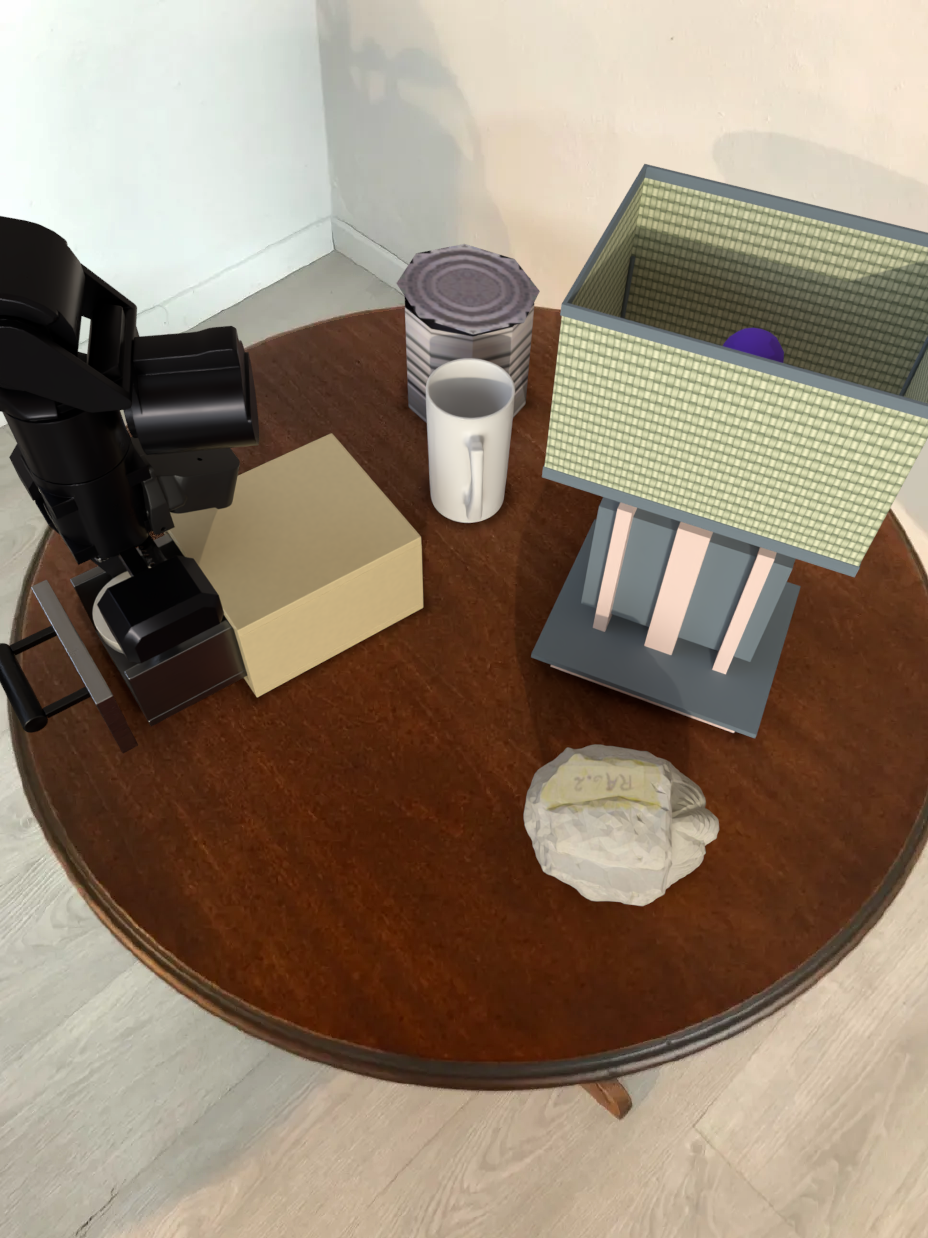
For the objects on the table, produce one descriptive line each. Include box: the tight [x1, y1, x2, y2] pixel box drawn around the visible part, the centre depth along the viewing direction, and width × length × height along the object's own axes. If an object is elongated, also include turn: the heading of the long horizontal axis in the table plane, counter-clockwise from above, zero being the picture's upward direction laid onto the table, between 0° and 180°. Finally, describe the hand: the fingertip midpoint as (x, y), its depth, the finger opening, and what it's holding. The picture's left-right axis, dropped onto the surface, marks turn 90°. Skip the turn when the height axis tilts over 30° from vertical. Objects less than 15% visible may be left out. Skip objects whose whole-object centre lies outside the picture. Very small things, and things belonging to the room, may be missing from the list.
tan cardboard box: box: [163, 432, 424, 698], centre depth 76 cm, size 15×13×9 cm
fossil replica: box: [523, 743, 720, 907], centre depth 65 cm, size 12×8×10 cm
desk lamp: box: [530, 163, 928, 739], centre depth 65 cm, size 18×14×33 cm
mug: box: [426, 358, 515, 524], centre depth 80 cm, size 10×7×12 cm, turn 5°
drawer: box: [0, 533, 248, 754], centre depth 72 cm, size 18×11×7 cm, turn 125°
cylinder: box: [93, 567, 151, 654], centre depth 70 cm, size 7×7×2 cm
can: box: [395, 243, 540, 424], centre depth 89 cm, size 11×11×12 cm
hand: (144, 610), depth 70 cm, fingers closed on cylinder, 7 cm apart
